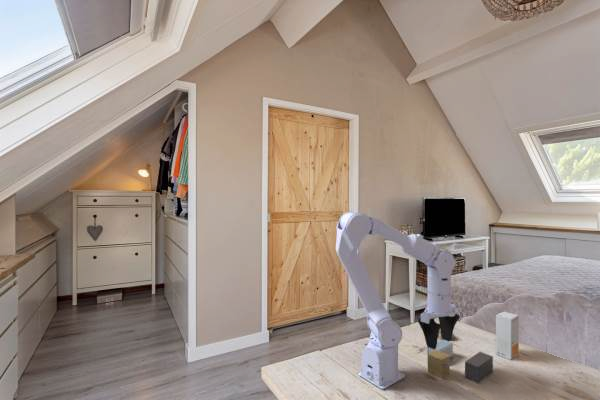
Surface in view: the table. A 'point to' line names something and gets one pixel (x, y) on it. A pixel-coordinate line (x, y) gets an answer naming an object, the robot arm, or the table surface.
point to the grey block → (478, 367)
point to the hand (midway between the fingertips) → (438, 343)
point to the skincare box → (507, 335)
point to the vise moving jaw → (443, 347)
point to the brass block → (438, 364)
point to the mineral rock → (441, 337)
